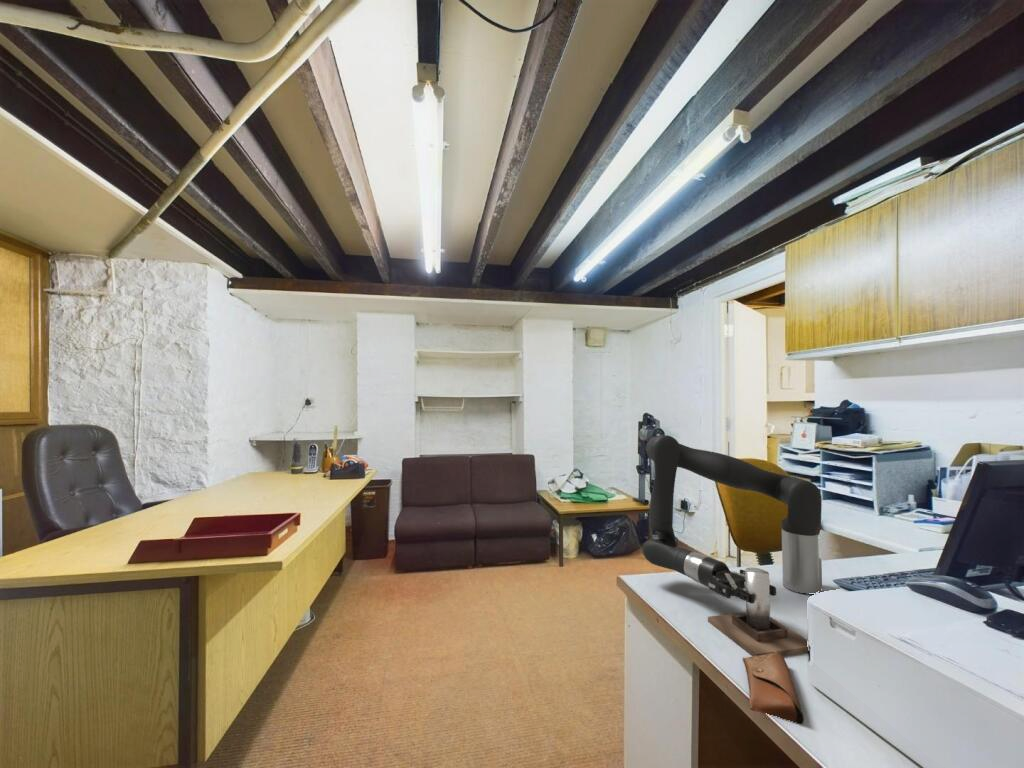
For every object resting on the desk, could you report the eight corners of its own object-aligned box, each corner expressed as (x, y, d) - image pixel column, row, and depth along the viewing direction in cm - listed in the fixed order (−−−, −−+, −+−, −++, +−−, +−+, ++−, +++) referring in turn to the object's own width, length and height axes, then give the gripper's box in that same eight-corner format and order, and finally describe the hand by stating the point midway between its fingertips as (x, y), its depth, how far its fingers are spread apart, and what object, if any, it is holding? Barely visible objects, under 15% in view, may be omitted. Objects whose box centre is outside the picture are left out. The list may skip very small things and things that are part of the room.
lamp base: (760, 615, 108) (760, 603, 109) (816, 651, 93) (816, 637, 93) (707, 621, 105) (707, 609, 105) (757, 659, 89) (756, 645, 90)
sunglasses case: (739, 655, 91) (756, 632, 90) (771, 679, 88) (789, 656, 87) (749, 710, 75) (770, 684, 73) (789, 742, 72) (811, 715, 71)
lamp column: (758, 623, 102) (757, 566, 103) (775, 634, 97) (774, 575, 98) (741, 625, 101) (740, 568, 102) (757, 637, 96) (756, 576, 97)
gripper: (687, 561, 109) (746, 585, 95) (722, 552, 116) (781, 574, 101) (688, 589, 109) (746, 618, 95) (722, 579, 115) (782, 604, 101)
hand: (764, 595), depth 98 cm, fingers open, 8 cm apart
